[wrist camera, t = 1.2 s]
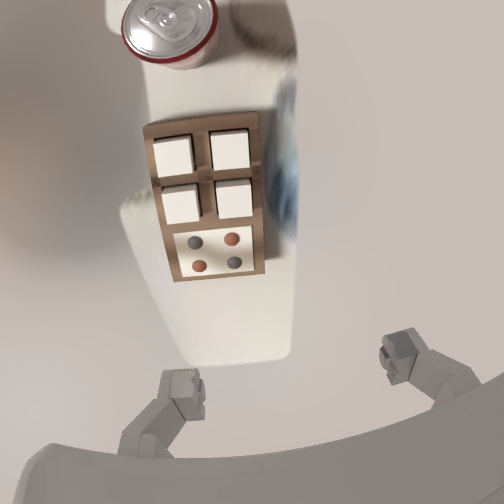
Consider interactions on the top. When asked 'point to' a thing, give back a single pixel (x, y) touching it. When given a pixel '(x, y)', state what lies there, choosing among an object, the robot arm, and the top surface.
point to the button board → (210, 202)
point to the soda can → (172, 31)
